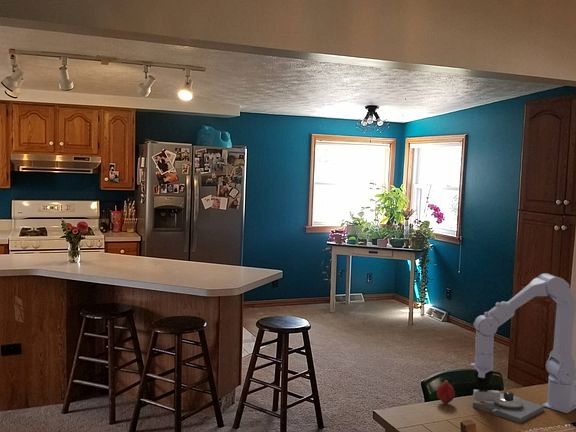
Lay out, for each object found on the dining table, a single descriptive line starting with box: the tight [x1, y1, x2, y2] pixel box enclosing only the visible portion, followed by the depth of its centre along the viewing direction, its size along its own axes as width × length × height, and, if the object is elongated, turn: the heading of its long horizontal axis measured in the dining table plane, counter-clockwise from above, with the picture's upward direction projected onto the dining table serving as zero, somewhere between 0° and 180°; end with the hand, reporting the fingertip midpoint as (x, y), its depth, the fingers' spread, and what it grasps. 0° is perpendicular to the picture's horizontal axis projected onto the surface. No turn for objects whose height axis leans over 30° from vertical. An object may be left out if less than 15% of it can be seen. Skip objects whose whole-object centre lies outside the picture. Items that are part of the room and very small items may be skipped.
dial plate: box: [472, 392, 545, 424], centre depth 177 cm, size 16×18×2 cm
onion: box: [436, 379, 456, 405], centre depth 180 cm, size 6×6×8 cm
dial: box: [472, 389, 524, 409], centre depth 177 cm, size 16×9×4 cm, turn 86°
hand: (482, 392), depth 180 cm, fingers closed
